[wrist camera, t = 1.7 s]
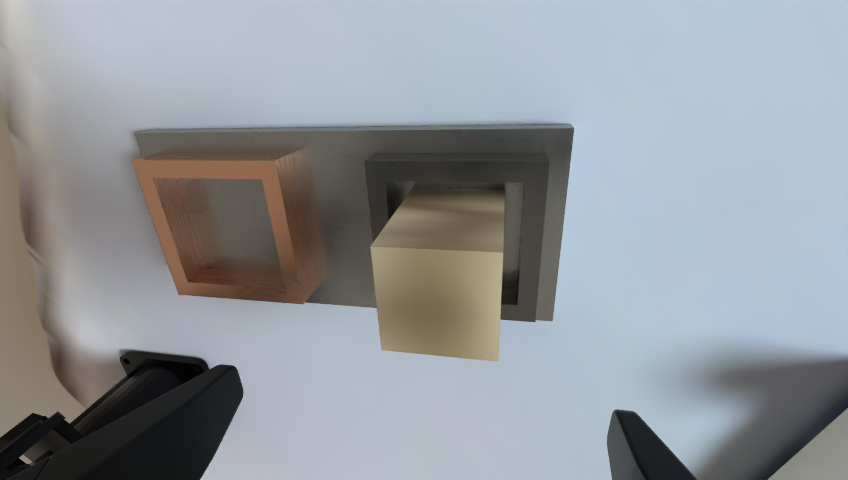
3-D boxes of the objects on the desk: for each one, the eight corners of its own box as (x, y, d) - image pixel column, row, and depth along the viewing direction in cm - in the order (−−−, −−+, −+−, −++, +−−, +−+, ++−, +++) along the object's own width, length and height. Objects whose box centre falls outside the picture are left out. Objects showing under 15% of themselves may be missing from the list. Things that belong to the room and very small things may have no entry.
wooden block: (416, 267, 19) (381, 349, 14) (412, 188, 18) (370, 246, 12) (501, 272, 18) (498, 361, 13) (504, 189, 17) (503, 252, 11)
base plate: (200, 284, 24) (168, 308, 21) (150, 129, 20) (106, 139, 18) (550, 309, 20) (555, 341, 18) (570, 124, 16) (580, 135, 14)
